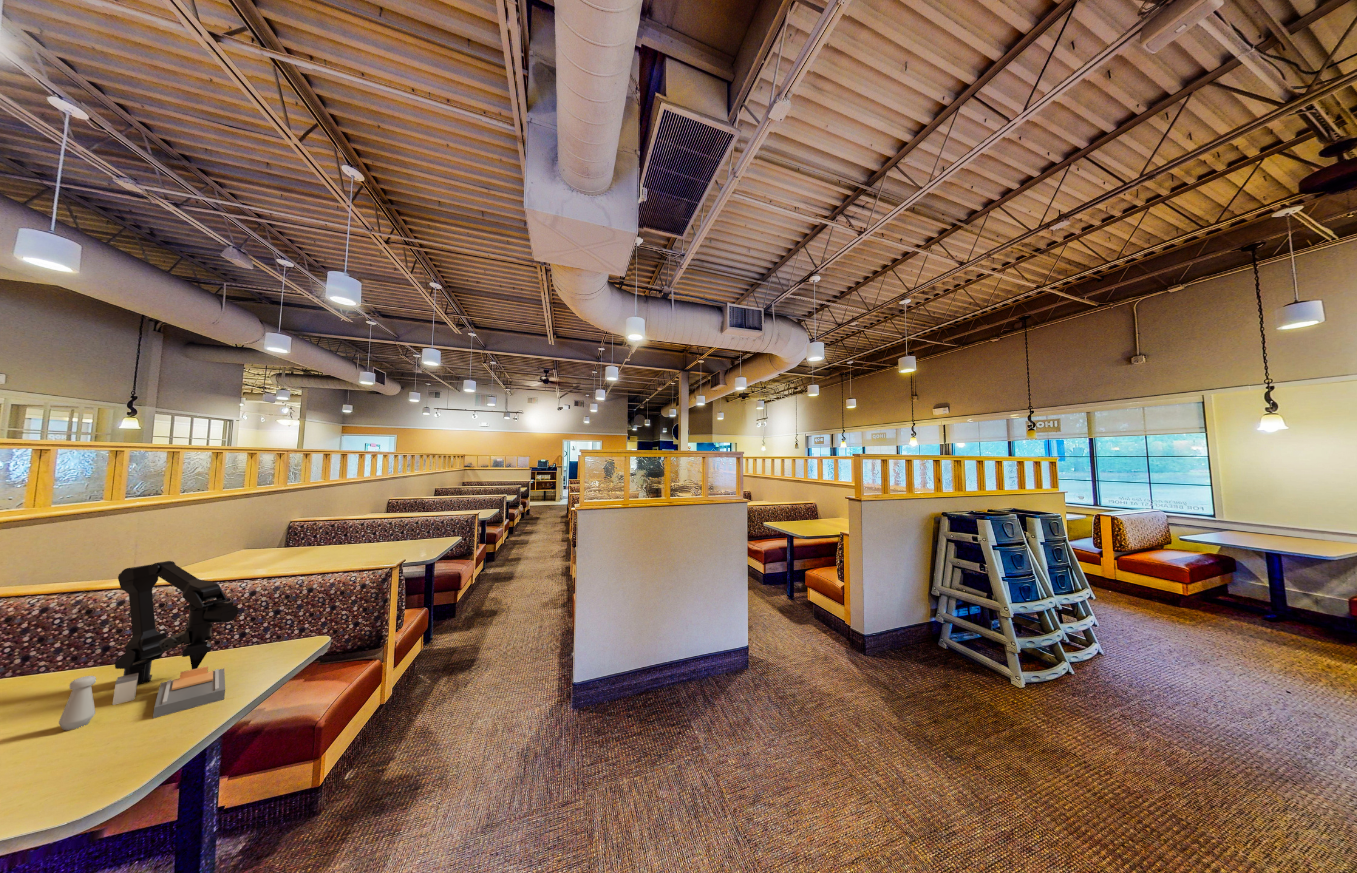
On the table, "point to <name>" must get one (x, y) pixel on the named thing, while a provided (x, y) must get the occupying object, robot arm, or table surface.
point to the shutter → (193, 677)
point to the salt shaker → (79, 704)
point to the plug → (125, 688)
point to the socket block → (189, 695)
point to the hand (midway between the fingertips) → (194, 669)
